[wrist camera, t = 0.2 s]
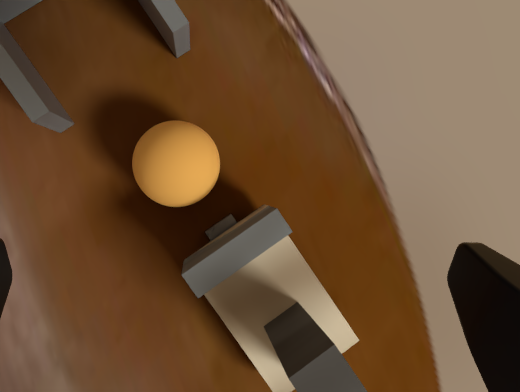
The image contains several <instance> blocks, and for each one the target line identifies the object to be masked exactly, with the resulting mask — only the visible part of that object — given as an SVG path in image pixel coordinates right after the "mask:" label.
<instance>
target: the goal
mask: <svg viewBox="0 0 520 392" xmlns="http://www.w3.org/2000/svg"><path fill="white" fill-rule="evenodd" d="M41 1H42V0H0V78H1V80H2V81H3V82H4V84H5V85H6V86H7V88H8V89H9V91H10V92H11V93H12V95H13V96H14V98H15V99H16V100H17V102H18V103H19V104H20V106H21V107H22V109H23V110H24V111H25V113H26V114H27V116H28V117H29V118H30V120H31V121H32V122H33V123H36V124H38V125H41V126H44V127H46V128H49V129H52V130H54V131H57V132H60V133H61V132H63V131H64V130H66V129H67V128H69V127H71V126H72V125H74V122H73V121H72V119H71V118H70V117H69V115H68V114H67V112H66V111H65V110H64V108H63V107H62V105H61V104H60V103H59V101H58V100H57V98H56V97H55V96H54V94H53V93H52V91H51V90H50V89H49V87H48V86H47V84H46V83H45V82H44V80H43V79H42V77H41V76H40V74H39V73H38V72H37V70H36V69H35V67H34V66H33V65H32V63H31V62H30V60H29V59H28V58H27V56H26V55H25V53H24V52H23V51H22V49H21V48H20V46H19V45H18V44H17V42H16V41H15V39H14V38H13V37H12V35H11V34H10V32H9V31H8V30H7V28H6V27H5V25H4V23H6V22H8V21H9V20H11V19H13V18H14V17H16V16H17V15H19V14H21V13H22V12H24V11H26V10H27V9H29V8H31V7H32V6H34V5H36V4H37V3H39V2H41ZM138 1H139V3H140V4H141V6H142V7H143V9H144V10H145V12H146V13H147V15H148V16H149V18H150V19H151V21H152V22H153V24H154V25H155V27H156V28H157V30H158V31H159V32H160V34H161V35H162V37H163V38H164V40H165V41H166V43H167V44H168V46H169V47H170V49H171V50H172V52H173V53H174V55H175V56H176V58H178V57H180V56H181V55H183V54H184V53H186V52H187V51H189V50H190V35H189V22H188V20H187V19H186V17H185V16H184V14H183V13H182V11H181V10H180V8H179V7H178V5H177V4H176V2H175V1H174V0H138Z"/></svg>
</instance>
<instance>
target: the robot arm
mask: <svg viewBox="0 0 520 392" xmlns="http://www.w3.org/2000/svg"><path fill="white" fill-rule="evenodd" d="M447 281H448V286H449V288H450V292H451V295H452V298H453V301H454V304H455V307H456V310H457V313H458V316H459V319H460V322H461V326H462V328H463V332H464V335H465V338H466V340H467V343H468V346H469V349H470V351H471V354H472V356H473V358H474V361H475V363H476V365H477V367H478V369H479V372H480V374H481V376H482V378H483V381H484V383H485V385H486V387H487V389H488V392H520V265H519V264H517V263H515V262H514V261H512V260H510V259H508V258H507V257H505V256H503V255H501V254H499V253H498V252H496V251H494V250H493V249H491V248H489V247H487V246H486V245H484V244H482V243H467V242H466V243H465V242H464V243H461V244H459V246H458V247H457V249H456V252H455V254H454V257H453V260H452V263H451V266H450V268H449V271H448V276H447ZM11 283H12V269H11V265H10V262H9V258H8V254H7V250H6V247H5V244H4V241H3V240H2V239H1V238H0V318H1V315H2V311H3V308H4V305H5V302H6V299H7V296H8V292H9V289H10V286H11Z"/></svg>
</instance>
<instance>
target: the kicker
mask: <svg viewBox="0 0 520 392" xmlns="http://www.w3.org/2000/svg"><path fill="white" fill-rule="evenodd" d="M290 233H292V230H291V229H290V227H289V226H288V224H287V223H286V221H285V220H284V218H283V217H282V215H281V214H280V212H279V211H278V209H277V208H274V207H270V206H267V205H262V206H261V207H259V208H258V209H257V210H255V211H254V212H252V213H251V214H249V215H248V216H247V217H245V218H244V219H242V220H241V221H239V222H238V223H236V224H235V225H234V226H232V227H231V228H229V229H228V230H226V231H225V232H223V233H222V234H221V235H219V236H218V237H216V238H215V239H213V240H212V241H211V242H209V243H208V244H206V245H205V246H203V247H202V248H200V249H199V250H198V251H196V252H195V253H193V254H192V255H190V256H189V257H188V258H186V259H185V260H184V262H183V268H182V276H183V278H184V279H185V281H186V282H187V283H188V285H189V286H190V288H191V289H192V291H193V292H194V293H195V295H196V296H197V298H200V297H201V296H202V295H205V297H206V298H207V299H208V301H209V302H210V304H211V305H212V307H213V308H214V309H215V311H216V312H217V314H218V315H219V316H220V318H221V319H222V321H223V322H224V323H225V325H226V326H227V328H228V329H229V330H230V332H231V333H232V335H233V336H234V338H235V339H236V340H237V342H238V343H239V345H240V346H241V347H242V349H243V350H244V352H245V353H246V354H247V356H248V357H249V359H250V360H251V361H252V363H253V364H254V366H255V367H256V369H257V370H258V371H259V373H260V374H261V376H262V377H263V378H264V380H265V381H266V383H267V384H268V385H269V387H270V388H271V390H272V391H273V392H291V391H293V390H294V389H296V390H297V392H367V391H366V389H365V388H364V386H363V385H362V383H361V382H360V380H359V379H358V377H357V376H356V375H355V373H354V372H353V370H352V369H351V367H350V366H349V364H348V363H347V361H346V360H345V358H344V357H343V356H342V353H343V352H345V351H346V350H347V349H349V348H350V347H351V346H353V345H354V344H355V343H357V342H358V341H359V339H358V338H357V336H356V335H355V333H354V332H353V331H352V329H351V328H350V326H349V325H348V323H347V322H346V320H345V319H344V317H343V316H342V314H341V313H340V311H339V310H338V308H337V307H336V305H335V304H334V302H333V301H332V299H331V298H330V297H329V295H328V294H327V292H326V291H325V289H324V288H323V286H322V285H321V283H320V282H319V280H318V279H317V277H316V276H315V274H314V273H313V271H312V270H311V268H310V267H309V266H308V264H307V263H306V261H305V260H304V258H303V257H302V255H301V254H300V252H299V251H298V249H297V248H296V246H295V245H294V243H293V242H292V240H291V239H290V237H289V236H288V235H289V234H290Z"/></svg>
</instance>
